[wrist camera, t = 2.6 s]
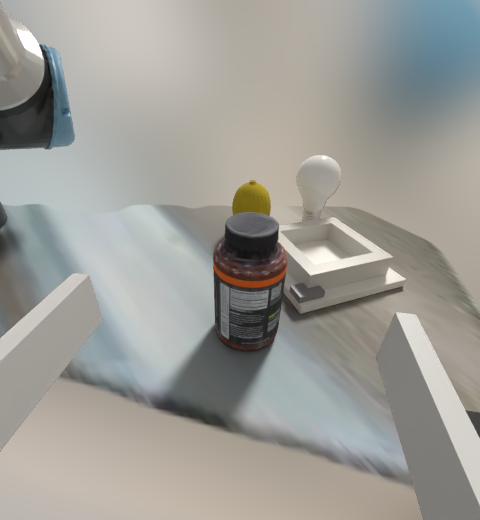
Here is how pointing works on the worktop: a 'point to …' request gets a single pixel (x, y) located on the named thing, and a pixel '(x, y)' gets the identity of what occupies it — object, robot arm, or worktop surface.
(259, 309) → the supplement bottle
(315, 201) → the lightbulb
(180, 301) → the worktop surface
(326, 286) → the socket
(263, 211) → the lemon
